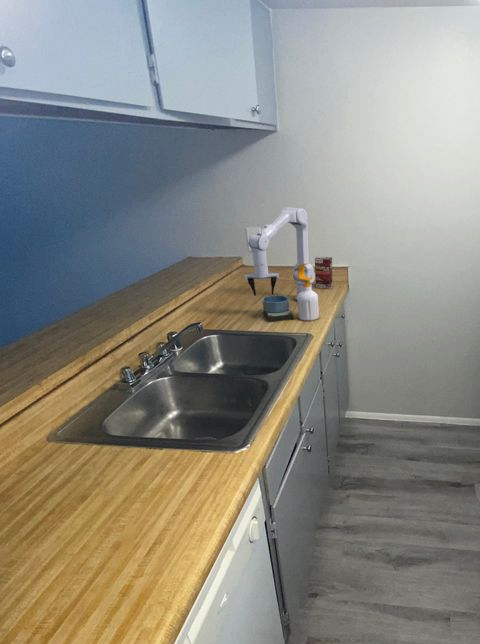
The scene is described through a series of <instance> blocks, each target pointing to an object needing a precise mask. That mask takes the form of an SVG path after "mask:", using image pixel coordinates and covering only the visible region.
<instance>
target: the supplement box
mask: <svg viewBox="0 0 480 644" xmlns="http://www.w3.org/2000/svg"><path fill="white" fill-rule="evenodd" d="M314 273H315V289H329V290H330V289H332V288H333V287H334V285H333V283H334V281H333V280H334V279H333V257H328V256H316V257H315V258H314Z"/></svg>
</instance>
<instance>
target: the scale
mask: <svg viewBox="0 0 480 644" xmlns="http://www.w3.org/2000/svg"><path fill="white" fill-rule="evenodd" d="M262 310H263V311H262V313H263V315H264V317H265V319H266V320H267V322H269V323H272V322H273V323H274V322H280V321H288V320H289V321H290V320H294V314H293V312H292V311H291V309H290V308H289V309H288V310H287V311H285V312H281V313H269V312H266V311H264V309H263V308H262Z"/></svg>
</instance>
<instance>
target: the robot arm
mask: <svg viewBox="0 0 480 644" xmlns="http://www.w3.org/2000/svg"><path fill="white" fill-rule="evenodd" d="M286 224H291V225H292V226H293V228H295V230H296V231H295V233H296V258H297V263H295V265H293V272H292V279H293V280H294V281H295V284H296V287H295V288H296V296H295V297H294V298H295V300H296V301H297V296H298V294H299V293H300V292H302V291H303V285H304V284H305V282H304V281H303V280H300V279H299V278H298V266H299V265H302V264H306V263H310V257H309V254H310V253H309V251H310V250H309V223H308V212H307V211H306V210H305V209H304V208H301V207H300V208H299V207H290V206H285V207H283V209H282V210H280V214H279V215H278V217H276V219H274V221H272V223H271V224H270V223H268V224H264V225H263V228H262V229H260V230H259V231H257V232H256V234H252V235H250V237H249V239H248V242H247V244H248V247H249V248H250V250H251V251H250V252H251V253H252V261H253V269H254V272H253V273H245V274H244V280H246V281H247V283H248V285H249V287H250V288H251V290H252V293H253V296H254V297H256V296H257V291H256V285H255V280H262V279H263V280H265V279H270V286H271V296H274V290H275V286H276V283H277V280H278V279H280V273H279V272H269V266H268V255H267V249H268V247H269V244H270V242H271V241H273V239H275V237H276V236H277V235H278V231H279V230H281V228H282V227H284V226H285V225H286ZM304 273H305V277H310V278H313V279H312V280H310V282H309V284H310V285H311V290H312V291H313V284H314V281H315V280H316V277H315V267H314V266H313V265H312V263H310V264H307V265H305V266H304Z"/></svg>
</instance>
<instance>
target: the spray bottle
mask: <svg viewBox="0 0 480 644" xmlns="http://www.w3.org/2000/svg"><path fill="white" fill-rule="evenodd" d="M307 264H312V262H310V261H309V263H306V264H302V265H299V266H298V278H299V279H300V280H303V281H304V282H305V284H304V285H303V291H302V292H300V293H299V294H298V296H297V295H296V297H297V300H296V301H297V312H298V313H297V314H298V319H299V320H301V321H305V322H308V321H309V322H310V321H316V320H317V319H319V317H320V311H319V295H318V294H317V292H315V291H314V290H313V289H312V290H311V285H310V284H309V282H310V280H312V279H313V278H310V277H305V273H304V266H305V265H307Z"/></svg>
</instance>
